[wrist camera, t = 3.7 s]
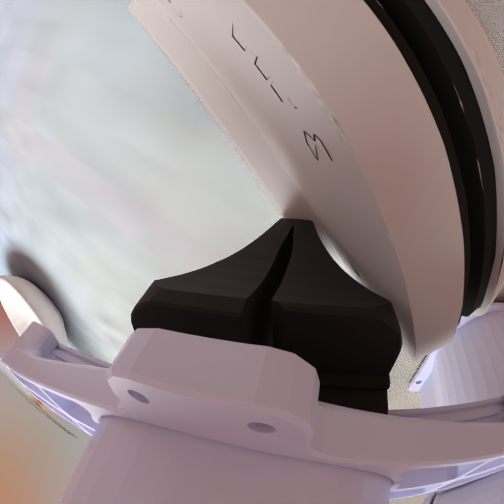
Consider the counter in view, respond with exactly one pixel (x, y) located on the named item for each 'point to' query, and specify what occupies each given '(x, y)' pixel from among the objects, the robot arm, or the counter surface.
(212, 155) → the counter surface
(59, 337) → the spoon rest
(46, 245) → the counter surface
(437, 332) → the white curved piece
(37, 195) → the counter surface
